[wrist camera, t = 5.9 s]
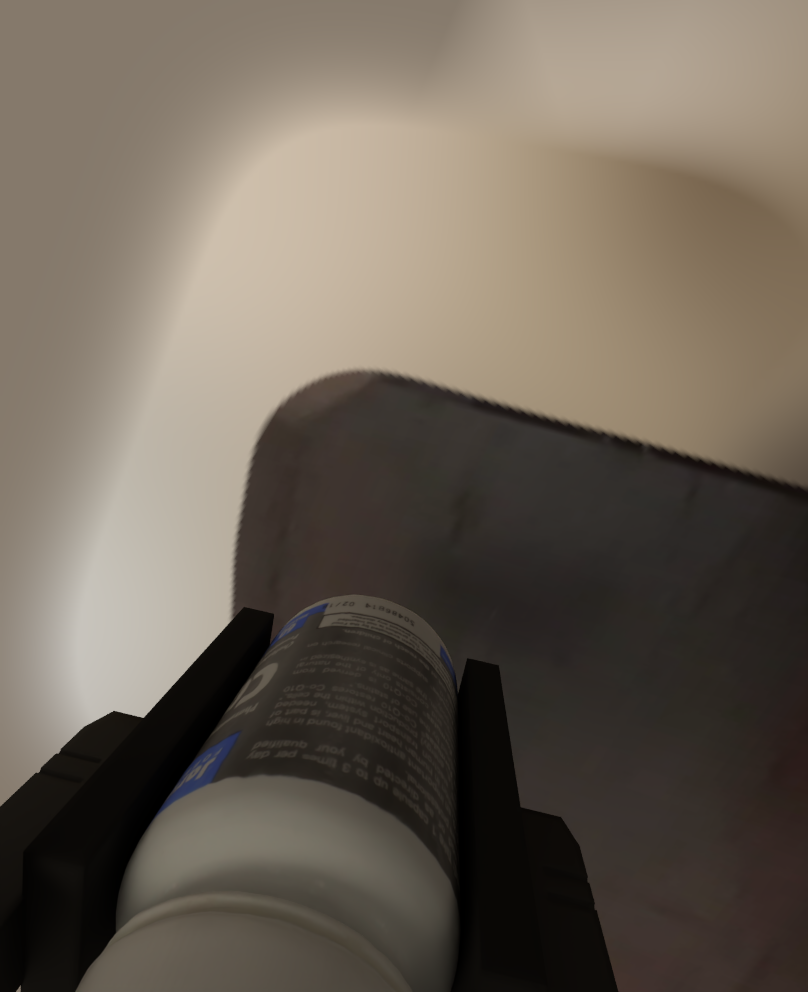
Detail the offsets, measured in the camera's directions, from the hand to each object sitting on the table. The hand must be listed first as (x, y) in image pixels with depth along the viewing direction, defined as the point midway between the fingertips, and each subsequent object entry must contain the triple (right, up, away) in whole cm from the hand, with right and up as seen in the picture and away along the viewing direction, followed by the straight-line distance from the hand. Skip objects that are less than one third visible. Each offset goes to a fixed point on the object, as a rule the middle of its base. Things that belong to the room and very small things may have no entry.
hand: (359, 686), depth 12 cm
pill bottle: (0, 0, 0) cm, 1 cm away
